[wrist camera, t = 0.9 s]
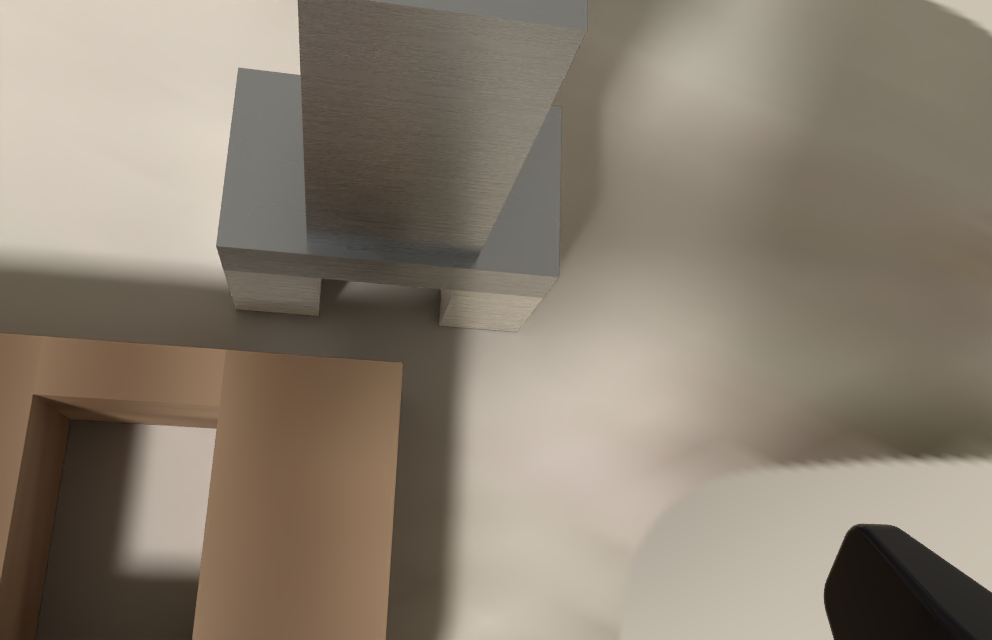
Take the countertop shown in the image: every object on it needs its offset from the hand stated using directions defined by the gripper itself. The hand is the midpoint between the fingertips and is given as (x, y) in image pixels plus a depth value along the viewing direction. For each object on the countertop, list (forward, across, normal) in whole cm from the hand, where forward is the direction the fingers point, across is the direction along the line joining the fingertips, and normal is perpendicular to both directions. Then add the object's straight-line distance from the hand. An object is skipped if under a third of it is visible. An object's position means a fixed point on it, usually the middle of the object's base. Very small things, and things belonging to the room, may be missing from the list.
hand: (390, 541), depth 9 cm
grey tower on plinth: (+15, 0, +4) cm, 16 cm away
